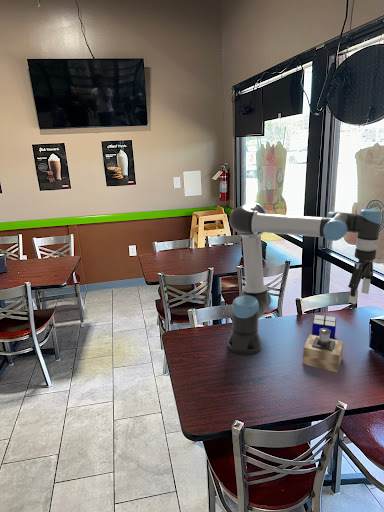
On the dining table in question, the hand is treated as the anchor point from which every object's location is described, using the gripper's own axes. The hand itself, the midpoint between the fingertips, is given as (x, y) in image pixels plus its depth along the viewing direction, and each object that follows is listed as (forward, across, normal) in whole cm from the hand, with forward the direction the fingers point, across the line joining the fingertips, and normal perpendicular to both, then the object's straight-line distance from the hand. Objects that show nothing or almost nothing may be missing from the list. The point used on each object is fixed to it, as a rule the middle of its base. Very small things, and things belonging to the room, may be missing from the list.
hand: (358, 297), depth 147 cm
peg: (+22, -11, +8) cm, 25 cm away
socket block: (+28, -11, +8) cm, 31 cm away
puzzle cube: (+29, +7, +16) cm, 33 cm away
